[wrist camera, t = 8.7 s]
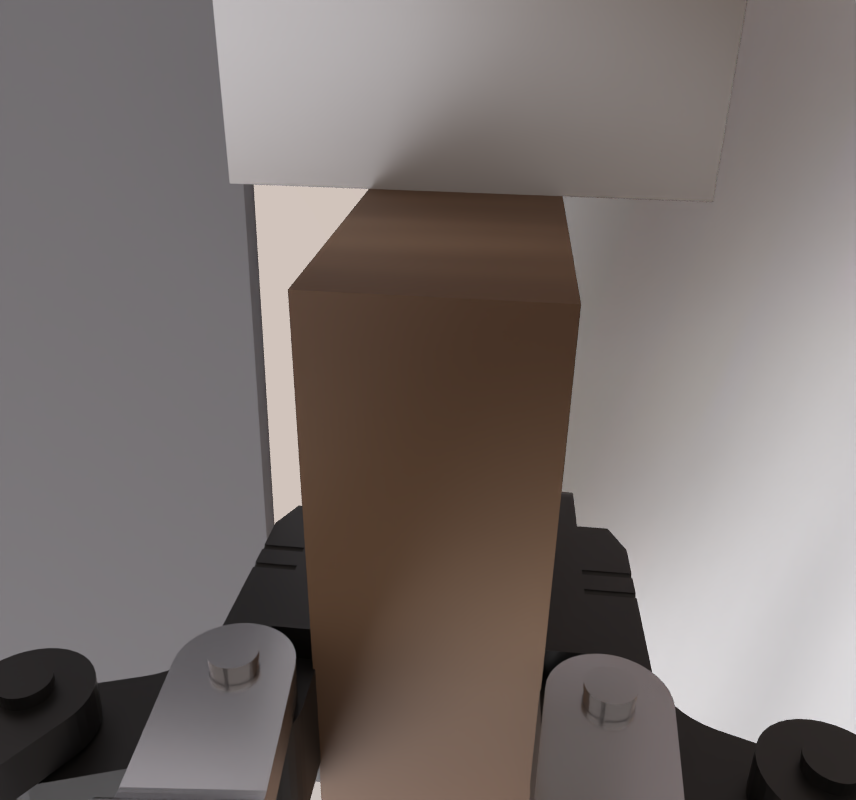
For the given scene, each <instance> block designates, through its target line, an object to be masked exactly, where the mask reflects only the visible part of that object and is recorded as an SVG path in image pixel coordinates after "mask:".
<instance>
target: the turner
mask: <svg viewBox="0 0 856 800" xmlns="http://www.w3.org/2000/svg"><path fill="white" fill-rule="evenodd" d="M746 5H747V0H213V10H214V21H215V32H216V42H217V53H218V64H219V74H220V85H221V96H222V106H223V117H224V128H225V138H226V149H227V160H228V170H229V181H230V184H256V185H257V184H258V185H282V186H309V187H335V188H361V189H369V190H368V191H367V192H366V194H365V195H364V196H363V197H362V198H361V200H360V201H359V202H358V204H357V205H356V206H355V207H354V208H353V210H352V211H351V212H350V214H349V215H348V216H347V217H346V218H345V220H344V221H343V222H342V223H341V225H340V226H339V227H338V228H337V230H336V231H335V232H334V233H333V234H332V236H331V237H330V238H329V239H328V241H327V242H326V243H325V245H324V246H323V247H322V248H321V249H320V251H319V252H318V253H317V254H316V256H315V257H314V258H313V259H312V261H311V262H310V263H309V264H308V265H307V267H306V268H305V269H304V270H303V272H302V273H301V274H300V275H299V277H298V278H297V279H296V280H295V282H294V283H293V284H292V285H291V287H290V288H289V289H288V297H289V312H290V328H291V343H292V358H293V372H294V388H295V403H296V418H297V433H298V448H299V464H300V479H301V495H302V510H303V525H304V540H305V555H306V570H307V586H308V601H309V616H310V631H311V646H312V661H313V669H315V674H316V691H317V707H318V723H319V739H320V756H321V762H320V766H319V768H320V783H321V798H322V800H530V779H531V770H532V760H533V751H534V741H535V732H536V722H537V713H538V703H539V694H540V690H541V684H542V675H543V665H544V655H545V646H546V636H547V626H548V617H549V607H550V597H551V588H552V578H553V569H554V559H555V549H556V540H557V530H558V520H559V511H560V501H561V491H562V482H563V472H564V462H565V453H566V443H567V434H568V424H569V414H570V405H571V395H572V385H573V376H574V366H575V356H576V347H577V337H578V327H579V318H580V308H581V302H580V296H579V290H578V284H577V279H576V273H575V267H574V261H573V255H572V249H571V243H570V238H569V232H568V226H567V220H566V214H565V208H564V202H563V197H562V196H570V197H596V198H623V199H649V200H675V201H701V202H713V199H714V193H715V187H716V181H717V175H718V169H719V163H720V157H721V152H722V146H723V140H724V134H725V128H726V122H727V116H728V111H729V105H730V99H731V93H732V87H733V81H734V75H735V69H736V64H737V58H738V52H739V46H740V40H741V34H742V28H743V22H744V17H745V11H746Z"/></svg>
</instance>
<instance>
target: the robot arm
mask: <svg viewBox="0 0 856 800" xmlns="http://www.w3.org/2000/svg"><path fill="white" fill-rule="evenodd" d="M320 762H321V756H320V739H319V723H318V707H317V691H316V674H315V669H313V661H312V646H311V631H310V616H309V601H308V586H307V570H306V555H305V540H304V525H303V510H302V506H298V507H296V508H295V509H294V510H292V511H291V512H290V513H288V514H287V515H286V516H284V517H283V518H282V519H281V520H279V521H278V522H276V523H275V525H274V527H273V529H272V531H271V533H270V535H269V537H268V539H267V541H266V543H265V546H264V549H262V550H261V552H260V554H259V556H258V558H257V560H256V562H255V567H253V568H252V570H251V572H250V574H249V576H248V577H247V579H246V581H245V583H244V585H243V587H242V589H241V591H240V593H239V595H238V597H237V599H236V601H235V603H234V605H233V606H232V608H231V610H230V612H229V614H228V616H227V618H226V620H225V622H224V624H223V626H220V627H216V628H214V629H211V630H208V631H206V632H204V633H202V634H200V635H198V636H196V637H195V638H193V639H192V640H190V641H189V642H188V643H187V644H186V645H185V646H183V647H182V649H181V650H180V651H179V652H178V653H177V655H176V657H175V659H174V660H173V662H172V665H171V667H170V669H169V670H168V671H164V672H161V673H158V674H153V675H148V676H142V677H135V678H128V679H121V680H115V681H108V682H101V683H97V677H96V672H95V669H94V666H93V665H92V663H91V662H90V660H89V659H87V658H86V657H85V656H84V655H82V654H80V653H78V652H75V651H72V650H68V649H61V648H44V649H35V650H30V651H25V652H22V653H19V654H15V655H13V656H10V657H8V658H5V659H3V660H1V661H0V800H310V798H311V794H312V790H313V787H314V784H315V781H318V782H320V768H319V766H320ZM530 800H856V735H855V734H853V733H851V732H850V731H848V730H845V729H843V728H840V727H838V726H835V725H832V724H828V723H825V722H821V721H815V720H807V719H793V720H785V721H781V722H778V723H776V724H773V725H771V726H769V727H768V728H767V729H766V730H764V731H763V733H762V734H761V735H760V737H759V738H758V741H757V743H754V742H751V741H748V740H745V739H742V738H739V737H736V736H733V735H730V734H727V733H724V732H721V731H718V730H716V729H713V728H711V727H708V726H705V725H703V724H702V723H700V722H698V721H696V720H694V719H692V718H690V717H689V716H687V715H686V714H684V713H683V712H681V711H680V710H679V709H678V708H676V707H675V705H674V700H673V698H672V696H671V693H670V691H669V690H668V688H667V687H666V686H665V684H664V683H663V682H662V681H661V680H660V679H659V678H658V677H657V676H656V675H655V674H653V673H652V670H651V665H650V660H649V655H648V651H647V646H646V641H645V636H644V632H643V627H642V622H641V617H640V612H639V608H638V603H637V598H635V589H634V584H633V579H632V578H631V570H630V565H629V560H628V555H627V551H626V549H625V548H624V547H623V546H622V545H621V543H620V542H619V541H618V540H617V539H616V538H615V537H614V536H613V534H612V533H611V532H610V531H609V530H608V529H604V528H591V527H577V524H576V516H575V507H574V498H573V493H569V492H561V501H560V511H559V520H558V530H557V540H556V549H555V559H554V569H553V578H552V588H551V597H550V607H549V617H548V626H547V636H546V646H545V655H544V665H543V675H542V684H541V690H540V694H539V703H538V713H537V722H536V732H535V741H534V751H533V760H532V770H531V779H530Z"/></svg>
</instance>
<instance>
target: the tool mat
mask: <svg viewBox="0 0 856 800" xmlns="http://www.w3.org/2000/svg"><path fill="white" fill-rule="evenodd" d="M273 527H274V514H273V496H272V481H271V464H270V448H269V432H268V414H267V398H266V383H265V366H264V350H263V334H262V316H261V300H260V286H259V269H258V252H257V235H256V220H255V202H254V186H253V184H230V181H229V170H228V160H227V149H226V138H225V128H224V117H223V106H222V96H221V85H220V74H219V64H218V53H217V42H216V32H215V21H214V10H213V0H0V661H1V660H3V659H5V658H8V657H10V656H13V655H15V654H19V653H22V652H25V651H30V650H35V649H44V648H61V649H68V650H72V651H75V652H78V653H80V654H82V655H84V656H85V657H86V658H87V659H89V660H90V662H91V663H92V665H93V666H94V669H95V672H96V677H97V683H101V682H108V681H115V680H121V679H128V678H135V677H142V676H148V675H153V674H158V673H161V672H164V671H168V670H169V669H170V667H171V665H172V662H173V660H174V659H175V657H176V655H177V653H178V652H179V651H180V650H181V649H182V647H183V646H185V645H186V644H187V643H188V642H189V641H190V640H192V639H193V638H195V637H196V636H198V635H200V634H202V633H204V632H206V631H208V630H211V629H214V628H216V627H220V626H223V624H224V622H225V620H226V618H227V616H228V614H229V612H230V610H231V608H232V606H233V605H234V603H235V601H236V599H237V597H238V595H239V593H240V591H241V589H242V587H243V585H244V583H245V581H246V579H247V577H248V576H249V574H250V572H251V570H252V568H253V567H255V562H256V560H257V558H258V556H259V554H260V552H261V550H262V549H264V546H265V543H266V541H267V539H268V537H269V535H270V533H271V531H272V529H273Z"/></svg>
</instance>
